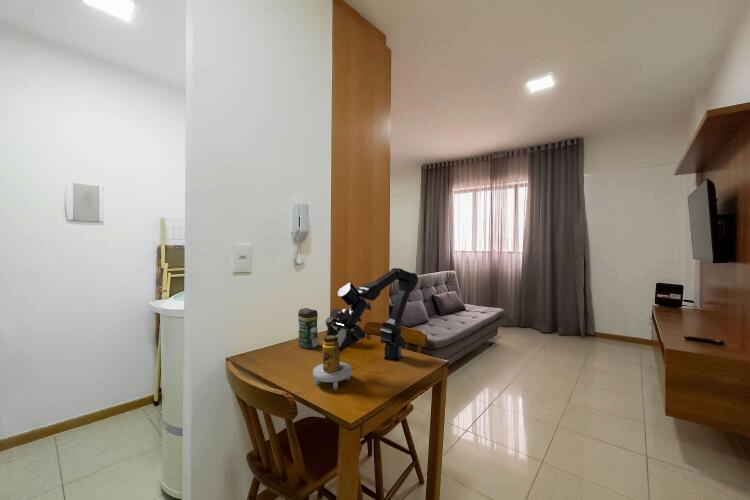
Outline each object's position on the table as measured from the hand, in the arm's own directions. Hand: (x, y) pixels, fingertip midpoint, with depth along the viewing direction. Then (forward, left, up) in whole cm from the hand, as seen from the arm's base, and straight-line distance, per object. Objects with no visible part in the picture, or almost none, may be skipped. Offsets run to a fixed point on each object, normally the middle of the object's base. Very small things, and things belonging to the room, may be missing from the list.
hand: (331, 347), depth 107 cm
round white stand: (0, 0, -12) cm, 12 cm away
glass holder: (+21, -38, -13) cm, 45 cm away
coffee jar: (+33, -26, -13) cm, 44 cm away
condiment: (0, -1, -8) cm, 8 cm away
